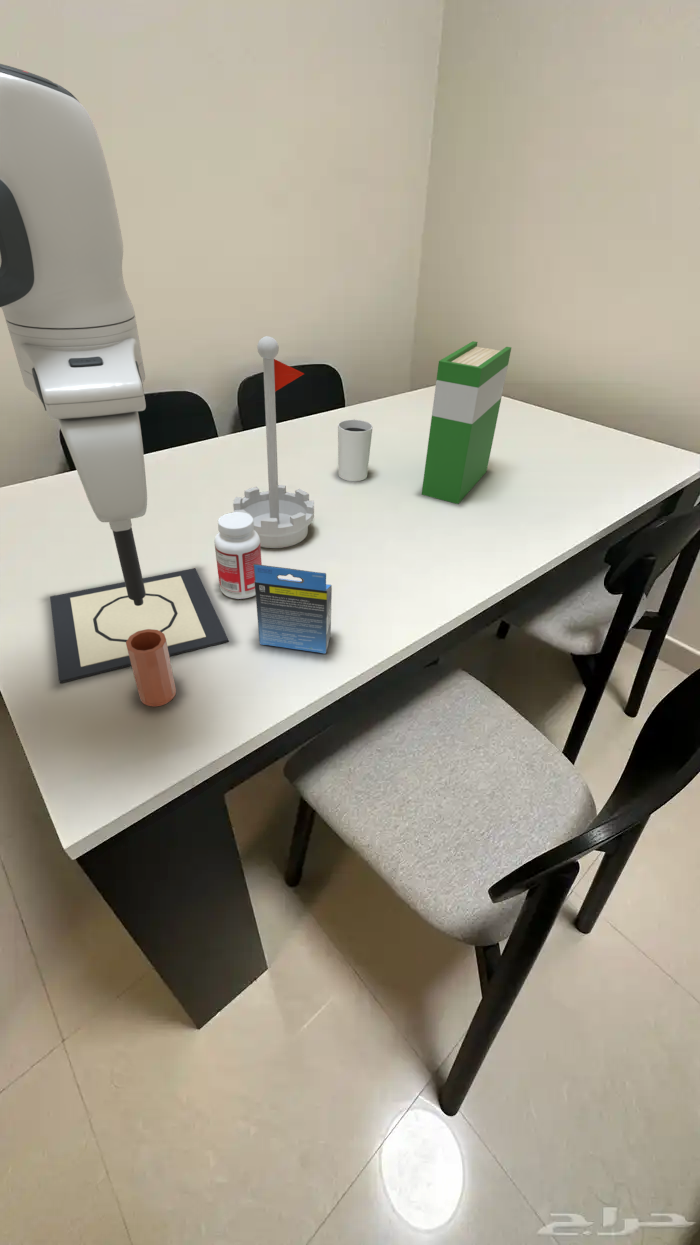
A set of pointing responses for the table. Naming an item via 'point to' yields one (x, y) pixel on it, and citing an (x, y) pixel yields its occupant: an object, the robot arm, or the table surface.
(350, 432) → the white cup
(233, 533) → the pill bottle
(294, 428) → the table surface
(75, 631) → the desk mat
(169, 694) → the pen cup
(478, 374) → the hardback book
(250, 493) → the flag stand
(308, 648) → the blue retail box
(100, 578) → the table surface
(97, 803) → the table surface
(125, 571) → the marker
